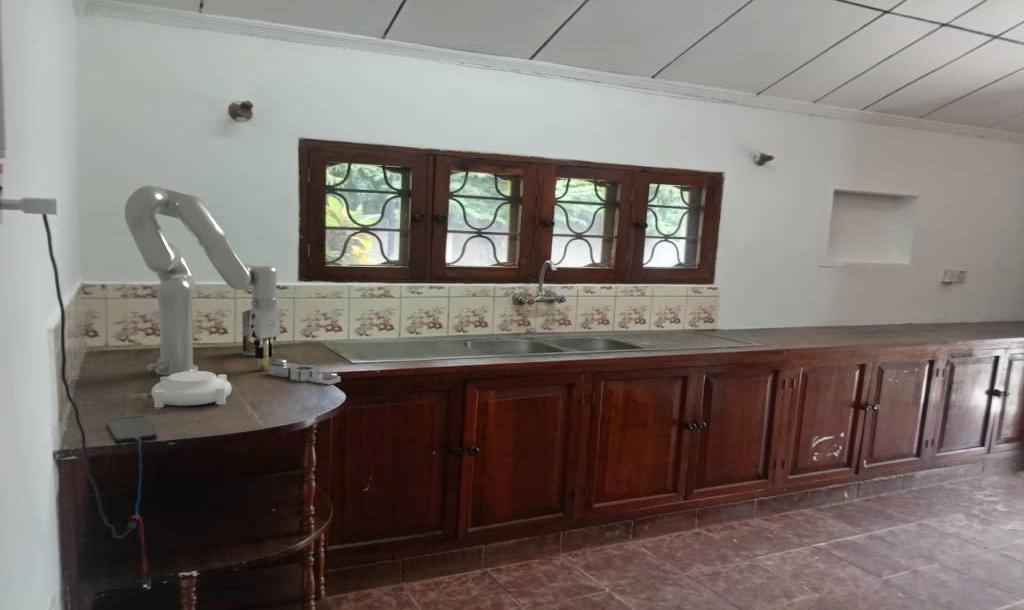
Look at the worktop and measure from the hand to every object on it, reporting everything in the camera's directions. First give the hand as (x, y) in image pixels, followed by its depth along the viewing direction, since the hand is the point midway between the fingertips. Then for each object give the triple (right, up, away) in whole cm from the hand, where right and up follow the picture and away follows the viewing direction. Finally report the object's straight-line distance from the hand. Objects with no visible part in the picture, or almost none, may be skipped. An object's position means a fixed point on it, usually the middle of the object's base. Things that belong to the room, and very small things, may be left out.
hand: (263, 357), depth 237 cm
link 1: (+12, -6, -6) cm, 15 cm away
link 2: (+20, -7, -9) cm, 23 cm away
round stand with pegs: (-7, -10, -37) cm, 39 cm away
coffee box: (-11, -1, +24) cm, 27 cm away
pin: (0, -4, +1) cm, 4 cm away
